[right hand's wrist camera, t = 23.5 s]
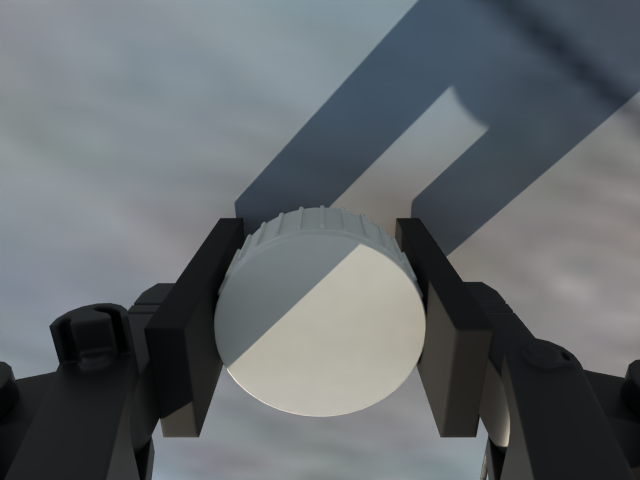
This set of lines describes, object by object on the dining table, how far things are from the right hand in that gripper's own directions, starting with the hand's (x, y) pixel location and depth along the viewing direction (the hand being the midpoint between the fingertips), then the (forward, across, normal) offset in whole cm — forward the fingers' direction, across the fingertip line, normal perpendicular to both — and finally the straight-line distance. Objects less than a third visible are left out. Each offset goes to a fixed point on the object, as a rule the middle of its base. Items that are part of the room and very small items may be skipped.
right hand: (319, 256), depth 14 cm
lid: (-4, 0, 0) cm, 4 cm away
